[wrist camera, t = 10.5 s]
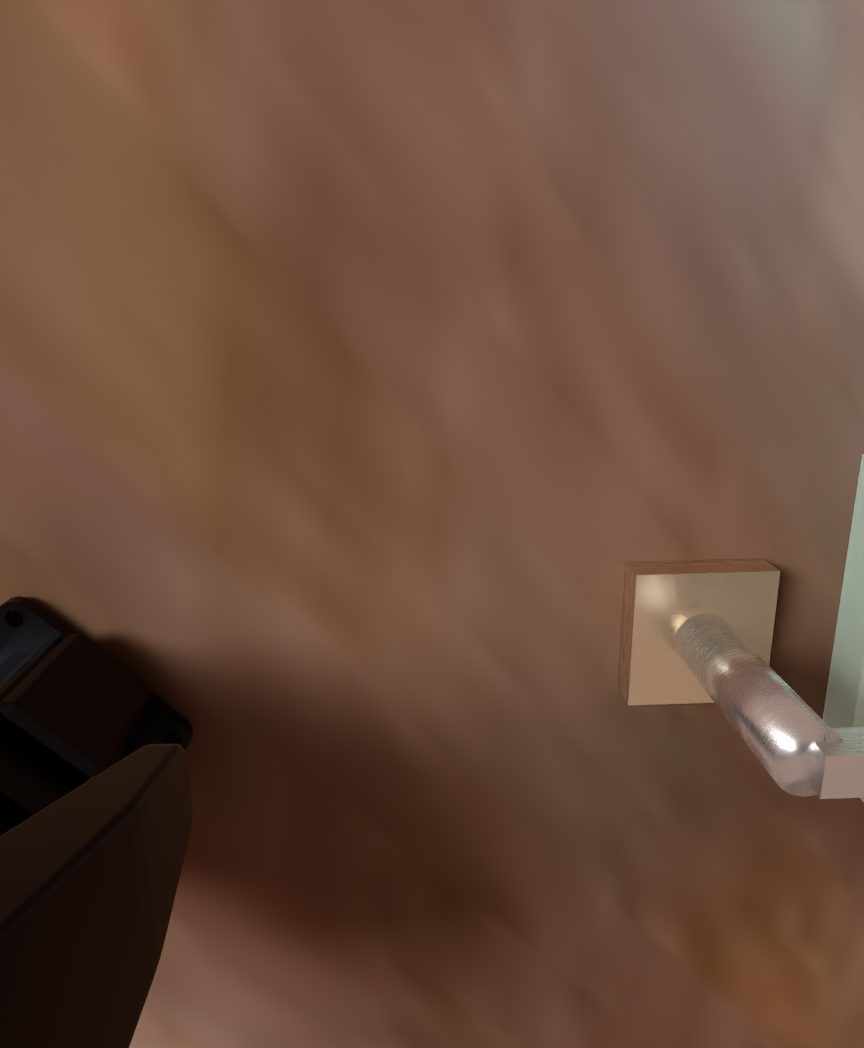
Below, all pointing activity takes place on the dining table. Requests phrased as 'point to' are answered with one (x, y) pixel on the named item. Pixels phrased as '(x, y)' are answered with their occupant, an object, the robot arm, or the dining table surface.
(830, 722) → the mint green frame
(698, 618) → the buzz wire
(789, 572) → the dining table surface
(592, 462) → the dining table surface
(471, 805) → the dining table surface
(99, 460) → the dining table surface
